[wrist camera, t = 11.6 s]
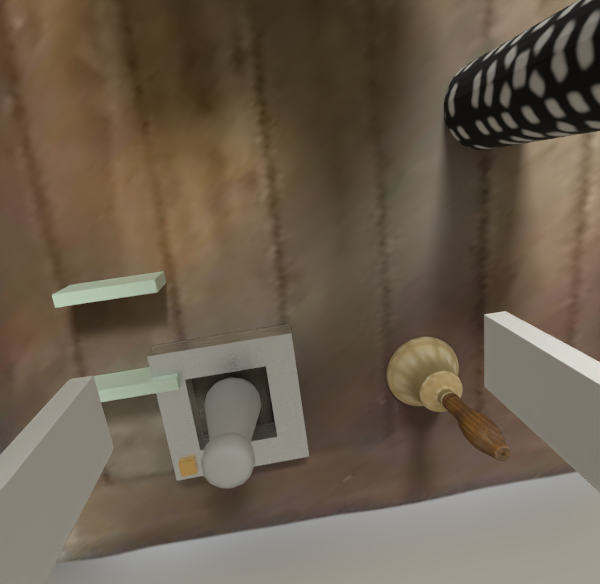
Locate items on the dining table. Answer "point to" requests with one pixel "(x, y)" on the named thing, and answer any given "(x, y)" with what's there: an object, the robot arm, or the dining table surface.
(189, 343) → the socket
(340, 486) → the dining table surface
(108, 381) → the pale green rectangular blocks
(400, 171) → the dining table surface
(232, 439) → the salt shaker
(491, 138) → the white-spotted black cylinder
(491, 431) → the hand bell
